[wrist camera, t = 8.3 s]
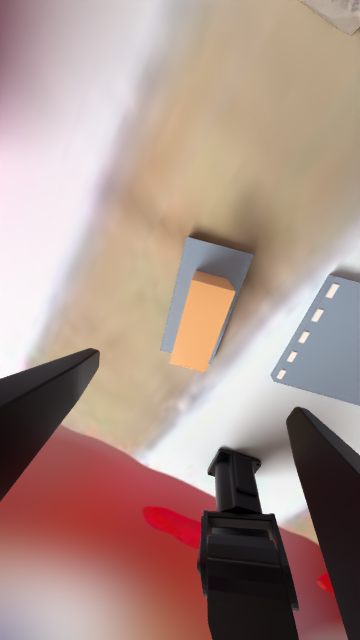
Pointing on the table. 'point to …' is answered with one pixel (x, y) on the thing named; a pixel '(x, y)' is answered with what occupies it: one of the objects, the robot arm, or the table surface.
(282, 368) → the ticket board
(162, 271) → the table surface
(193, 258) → the stub
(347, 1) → the packaged product
